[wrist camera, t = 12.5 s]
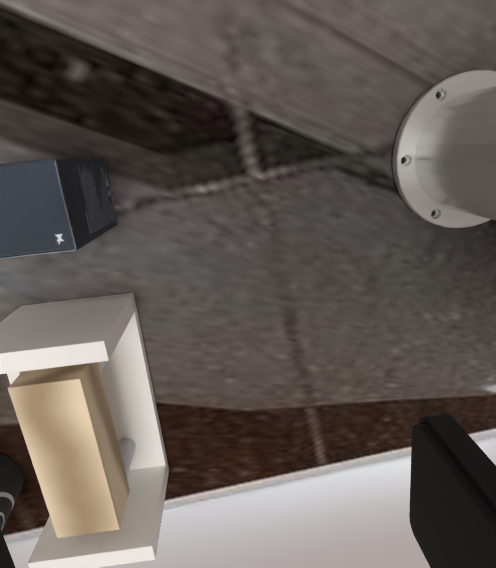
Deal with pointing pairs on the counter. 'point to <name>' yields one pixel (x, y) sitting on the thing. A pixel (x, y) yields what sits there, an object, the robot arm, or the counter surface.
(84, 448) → the oak board
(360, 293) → the counter surface
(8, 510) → the coffee cup
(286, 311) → the counter surface
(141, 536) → the peg frame
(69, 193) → the box
